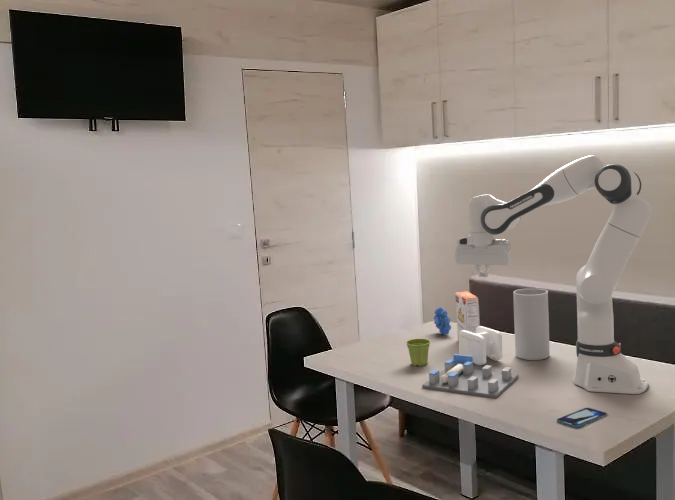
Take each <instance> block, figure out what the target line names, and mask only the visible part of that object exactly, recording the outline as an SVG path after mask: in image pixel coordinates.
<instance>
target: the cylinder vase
mask: <svg viewBox="0 0 675 500" xmlns="http://www.w3.org/2000/svg"><path fill="white" fill-rule="evenodd" d="M512 294H513V298H512V299H513V317H514V318H513V319H514V323H513V325H514V347H515V349H514V350H515V357H516V358H519V359H521V360H525V361H541V360H544V359H547V358H549V357H550V321H549V319H550V318H549V291H548V290H547V289H543V288H534V287H533V288H521V289H520V288H519V289H516V290H514V291H513V293H512Z"/></svg>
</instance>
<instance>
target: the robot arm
mask: <svg viewBox="0 0 675 500" xmlns="http://www.w3.org/2000/svg"><path fill="white" fill-rule="evenodd" d="M595 189H596V190H597V192H598V193H599V194H600V195H601V196H602V197H603V199H606V200H607V202H609V204H612V206H613V209H612V212H611V214H610V216H609V218H608V219H607V221H606V223H605V225H604V227H603V229H602V230H601V232H600V234H599V236H598V238H597V240H596V242H595V244H594V246H593V249H592V251H591V253H590V256H589V257H588V260H587V261H586V263H585V265H583V266H582V267H581V268H580V269H579V270H578V271H577V273H576V277H575V286H576V292H575V293H576V313H577V314H576V317H577V322H576V323H577V340H576V342H575V343H576V344H575V350H576V351H575V352H576V357H577V360H576V361H577V362H576V369H575V374H574V378H573V383H574V384H575V385H576V386H578V387H581V388H583V389H584V390H585V391H587V392H596V393H597V392H598V393H614V394H628V395H639V394H642V393H644V392H645V391H647V389H648V388H649V384H648V380H647V379H645V378H643V377H641V373H640V369H639V367H638V365H637V364H636V363H635V362H633V361H632V360H630V359H629V358H628V357H626V356H625V354H622V353H621V349H622V347H621V342H619V343H618V342H617V341H615V338H614V337H615V336H614V335H615V332H614V331H615V330H614V327H615V326H614V311H613V310H614V307H613V295H614V292H615V290H616V288H617V286H618V284H619V281H620V279H621V277H622V276H623V273H624V271H625V269H626V266H627V265H628V263H629V262H628V261H629V259H630V258H631V256H632V253H634V251H635V248H636V247H637V245H638V243H639V242H640V239H641V238H642V236H643V235H644V232H645V230H646V228H647V225H648V222H649V220H650V217H651V213H652V206H651V204H650V203H649V202H648V201H647V200H646V199H644V198H643V197H641V196H639V195H640V193H641V191H642V181H641V179H640V176H639V175H638V174H637V173H635V171H633V170H632V169H631V168H629V167H628V166H627V167H626V166H623V165H621V164H617V163H612V164H611V163H610V164H607V165H605V164H604V162H603V161H602V160H601V159H600V158H599V157H598V156H596V155H587V156H584V157H581V158H578V159H575V160H573V161H571V162H569V163H567V164H565V165H563V166H562V167H560V168H558V169H556V170H555V171H554V172H552V173H551V174H549V175H548V176H547V177H545V178H544V179H543V180H542V181H540V182H539V183H538V184H537V185H536V186H534V187H533V188H532V189H530V190H528V191H527V192H525V193H522V194H521V195H518V197H516V198H513V199H511V200H510V201H508V202H506V201H503V200H501V199H497V198H496V197H494V196H493V195H492V194H490V193H484V194H480V195H477V196H473V197H472V198H471V199H469V202H468V222H469V232H468V235H465V236H463V237H461V238H458V239H456V244H457V246H456V247H455V252H454V253H455V255H454V257H455V259H454V260H455V263H456V264H457V265H473V266H474V265H475V267H474V268H475V269H476V271H477V272H478V277H480V278H488V277H489V271H490V269H491V267H492V266H509V265H510V264H511V262H512V257H511V255H512V254H511V251H510V250H511V243H510V241H508V240H506V239H505V238H503V239H498V238H497V239H495V235H501V234H503V233H504V232H506V231H509V230H512V229H514V228H515V227H516V226H518V225H519V223H520V222H521V218H522V216H525V215H527V214H529V213H530V212H533V211H534V210H536V209H540V208H543V207H545V206H550V205H556V204H560V203H561V204H562V203H565V202H567V201H570V200H573V199H574V198H577V197H579V196H582V194H584V193H586V192H588V191H590V190H595ZM482 266H484V268H485V271H483V270H482V269H481V267H482Z"/></svg>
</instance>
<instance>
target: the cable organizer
mask: <svg viewBox="0 0 675 500" xmlns="http://www.w3.org/2000/svg"><path fill="white" fill-rule="evenodd" d="M458 336H459V340H458V351H459V353H458V354H459V355H469V356H473V364H475V365H477V366H482V365H485V364H486V363H487V358H489V359H491V360H493V361H494V362H498V361H501V360H502V359H503V335H502V333H501V331H499V330H495V329H492V328H490V327H486V326H482V325H480V326H478V327H477V328H476V333H472V332H469V331H466V330H461V331H459V333H458V332H457V337H458ZM486 365H487V364H486Z"/></svg>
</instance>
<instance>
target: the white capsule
mask: <svg viewBox="0 0 675 500" xmlns="http://www.w3.org/2000/svg"><path fill="white" fill-rule="evenodd" d="M452 372H456V373H458V375H459V374H460V373H461V372H463V365H462V364H458V365H456V366H455V367H453V368H452V369H451V370H449V371H448V372H446V373H445V374H444V375H442V376H441V382H442V383H444V384H446V383H448V375H449V374H451V373H452Z"/></svg>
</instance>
